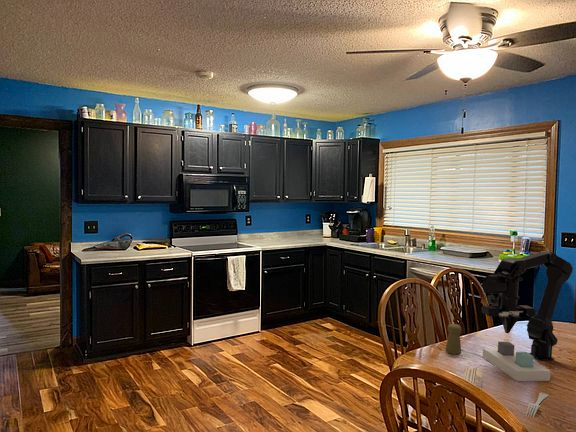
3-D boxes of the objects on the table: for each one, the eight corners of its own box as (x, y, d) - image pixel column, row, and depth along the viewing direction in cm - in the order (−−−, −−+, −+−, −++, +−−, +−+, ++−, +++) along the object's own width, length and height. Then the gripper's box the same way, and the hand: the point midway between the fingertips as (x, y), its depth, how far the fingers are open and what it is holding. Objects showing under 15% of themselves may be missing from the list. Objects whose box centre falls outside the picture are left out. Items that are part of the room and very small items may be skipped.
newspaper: (464, 370, 160) (464, 365, 160) (485, 374, 157) (486, 369, 157) (458, 397, 139) (459, 391, 139) (483, 402, 136) (483, 396, 136)
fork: (549, 403, 141) (549, 394, 141) (534, 420, 125) (535, 410, 125) (539, 400, 143) (539, 391, 143) (523, 416, 127) (524, 407, 127)
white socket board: (511, 356, 173) (511, 347, 173) (549, 380, 151) (550, 370, 151) (482, 356, 172) (482, 348, 172) (517, 381, 150) (517, 371, 150)
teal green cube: (525, 362, 158) (526, 352, 158) (532, 367, 154) (533, 356, 154) (515, 363, 158) (515, 352, 158) (522, 367, 154) (522, 356, 154)
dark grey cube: (507, 351, 169) (508, 341, 169) (513, 355, 165) (514, 345, 165) (497, 351, 169) (498, 341, 169) (503, 355, 165) (504, 345, 165)
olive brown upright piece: (462, 354, 174) (464, 327, 173) (446, 353, 175) (447, 326, 174) (459, 349, 180) (461, 323, 179) (444, 348, 181) (445, 321, 180)
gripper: (519, 287, 175) (517, 326, 176) (474, 287, 173) (472, 326, 174) (537, 294, 164) (535, 335, 165) (490, 294, 162) (488, 335, 163)
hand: (507, 333), depth 167 cm, fingers closed
